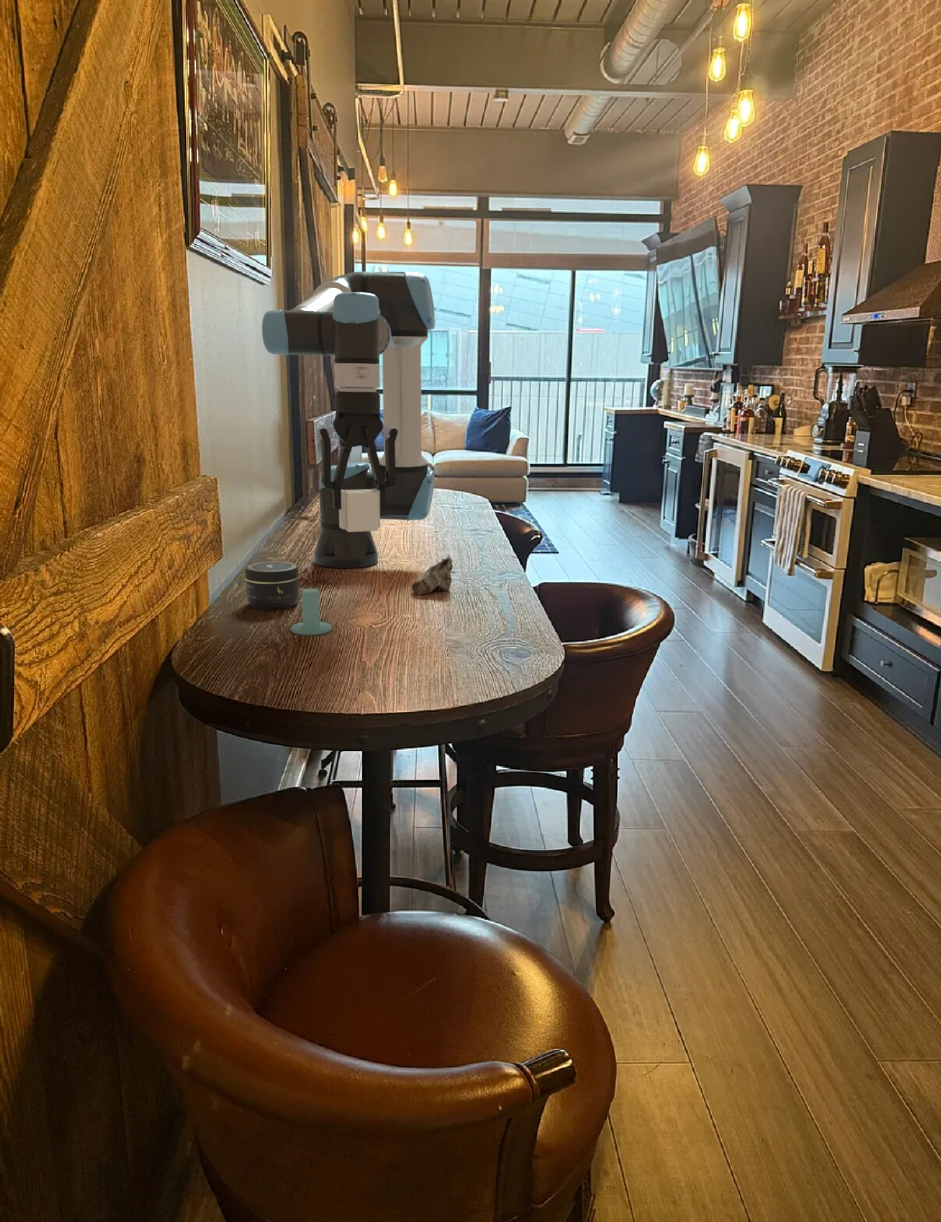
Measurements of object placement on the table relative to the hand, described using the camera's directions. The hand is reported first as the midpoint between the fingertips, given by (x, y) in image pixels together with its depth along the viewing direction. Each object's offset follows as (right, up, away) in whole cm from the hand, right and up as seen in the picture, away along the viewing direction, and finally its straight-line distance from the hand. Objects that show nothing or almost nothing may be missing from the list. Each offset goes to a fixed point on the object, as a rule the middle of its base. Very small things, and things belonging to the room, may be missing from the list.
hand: (359, 527), depth 150 cm
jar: (-19, -14, +15) cm, 28 cm away
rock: (+11, -11, +28) cm, 32 cm away
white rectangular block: (0, 0, 0) cm, 0 cm away
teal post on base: (-8, -18, -1) cm, 20 cm away
